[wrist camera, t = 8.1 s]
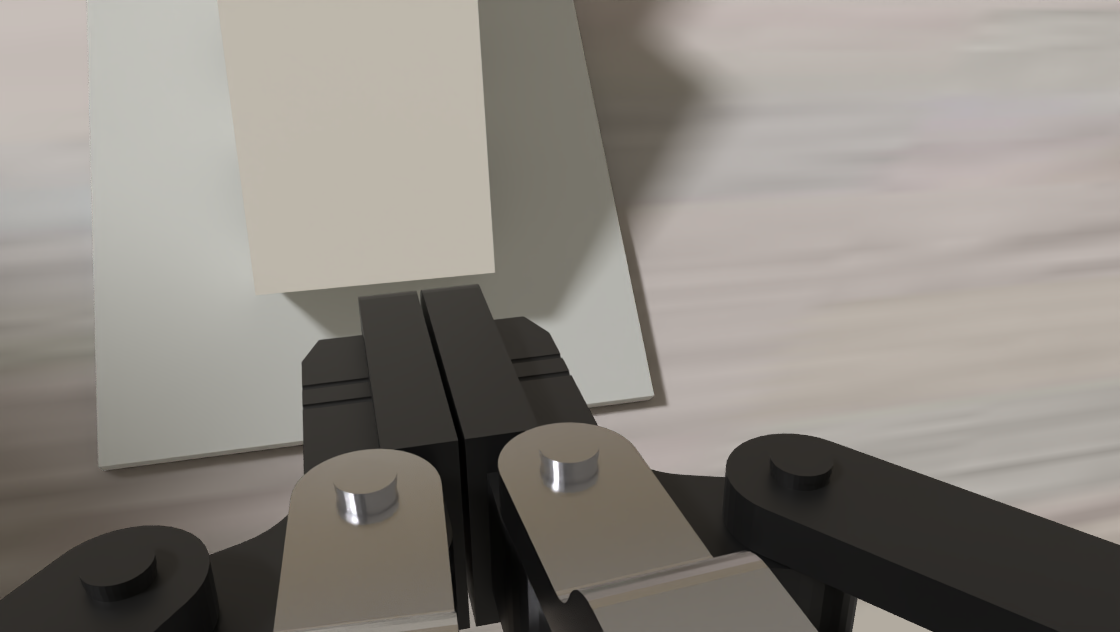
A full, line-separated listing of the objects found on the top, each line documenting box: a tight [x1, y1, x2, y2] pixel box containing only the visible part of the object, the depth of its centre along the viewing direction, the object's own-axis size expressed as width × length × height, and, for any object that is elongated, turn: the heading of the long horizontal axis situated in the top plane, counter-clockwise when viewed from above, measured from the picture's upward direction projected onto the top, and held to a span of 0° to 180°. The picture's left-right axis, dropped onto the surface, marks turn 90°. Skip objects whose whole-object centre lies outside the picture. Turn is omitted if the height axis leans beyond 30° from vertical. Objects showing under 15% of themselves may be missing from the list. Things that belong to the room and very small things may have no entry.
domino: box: [217, 0, 495, 295], centre depth 20 cm, size 5×2×10 cm
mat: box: [86, 0, 654, 471], centre depth 25 cm, size 12×21×1 cm, turn 10°
